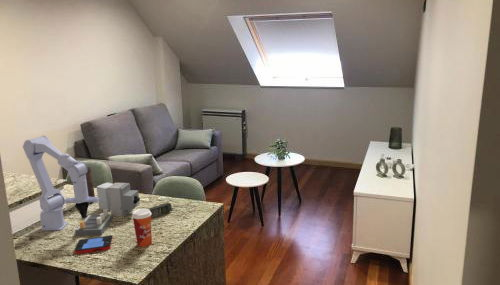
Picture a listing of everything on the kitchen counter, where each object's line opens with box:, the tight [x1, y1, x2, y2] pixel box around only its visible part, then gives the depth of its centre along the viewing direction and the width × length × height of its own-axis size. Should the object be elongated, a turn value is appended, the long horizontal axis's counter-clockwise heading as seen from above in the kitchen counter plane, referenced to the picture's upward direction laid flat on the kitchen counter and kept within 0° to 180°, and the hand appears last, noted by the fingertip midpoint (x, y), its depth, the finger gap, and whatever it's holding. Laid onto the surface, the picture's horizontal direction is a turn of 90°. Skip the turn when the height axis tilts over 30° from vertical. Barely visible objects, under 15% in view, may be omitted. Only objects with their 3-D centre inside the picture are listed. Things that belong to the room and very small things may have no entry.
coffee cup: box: [131, 208, 153, 248], centre depth 175 cm, size 8×8×15 cm
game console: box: [74, 234, 114, 255], centre depth 176 cm, size 14×13×2 cm
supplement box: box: [95, 181, 114, 212], centre depth 215 cm, size 7×7×13 cm
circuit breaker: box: [108, 182, 141, 217], centre depth 207 cm, size 8×14×15 cm, turn 78°
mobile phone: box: [148, 202, 174, 219], centre depth 205 cm, size 5×3×15 cm
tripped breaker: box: [79, 220, 85, 229], centre depth 186 cm, size 2×2×3 cm
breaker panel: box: [74, 209, 114, 236], centre depth 193 cm, size 12×17×6 cm
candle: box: [86, 166, 96, 197], centre depth 221 cm, size 8×7×20 cm
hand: (84, 217), depth 186 cm, fingers closed
